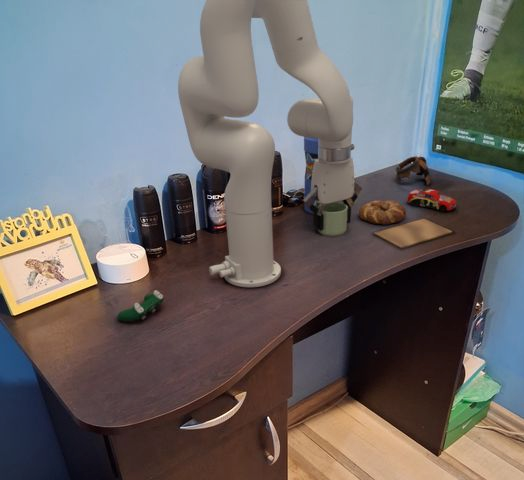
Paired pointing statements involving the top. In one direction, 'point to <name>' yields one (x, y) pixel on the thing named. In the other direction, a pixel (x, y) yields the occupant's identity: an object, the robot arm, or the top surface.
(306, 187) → the water bottle
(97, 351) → the top surface
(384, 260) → the top surface
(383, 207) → the seeded bagel
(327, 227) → the green cup
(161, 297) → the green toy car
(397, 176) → the brown grey arched frame
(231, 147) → the robot arm
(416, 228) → the cork mat
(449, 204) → the race car
